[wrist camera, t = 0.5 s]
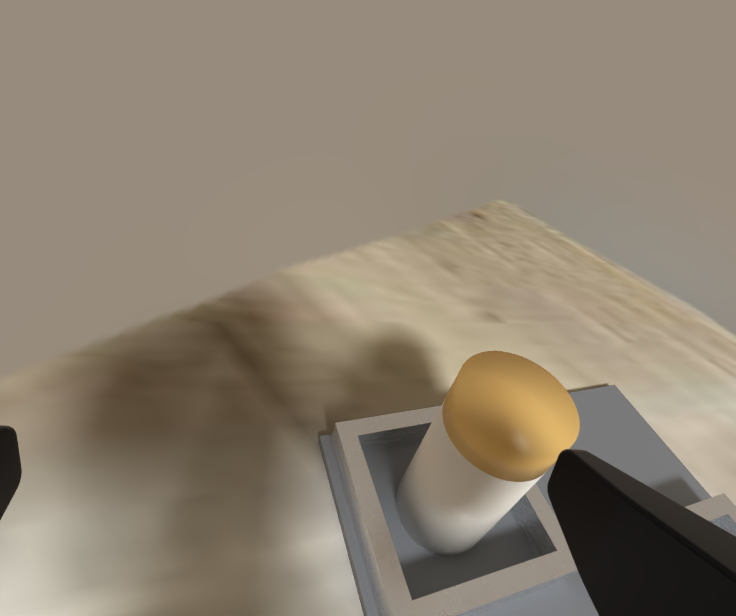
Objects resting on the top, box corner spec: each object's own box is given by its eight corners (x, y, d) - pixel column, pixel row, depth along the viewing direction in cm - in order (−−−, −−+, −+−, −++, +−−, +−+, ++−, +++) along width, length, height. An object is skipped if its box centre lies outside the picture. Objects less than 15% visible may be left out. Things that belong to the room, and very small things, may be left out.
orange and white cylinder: (500, 542, 23) (606, 442, 17) (416, 568, 21) (498, 467, 15) (458, 457, 26) (532, 346, 20) (383, 473, 25) (437, 357, 18)
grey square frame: (564, 580, 22) (585, 566, 21) (387, 647, 19) (399, 636, 17) (473, 416, 29) (485, 398, 28) (330, 441, 25) (335, 422, 24)
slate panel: (913, 745, 20) (924, 744, 20) (496, 1123, 12) (503, 1132, 11) (610, 388, 35) (614, 384, 34) (318, 440, 26) (319, 435, 25)
